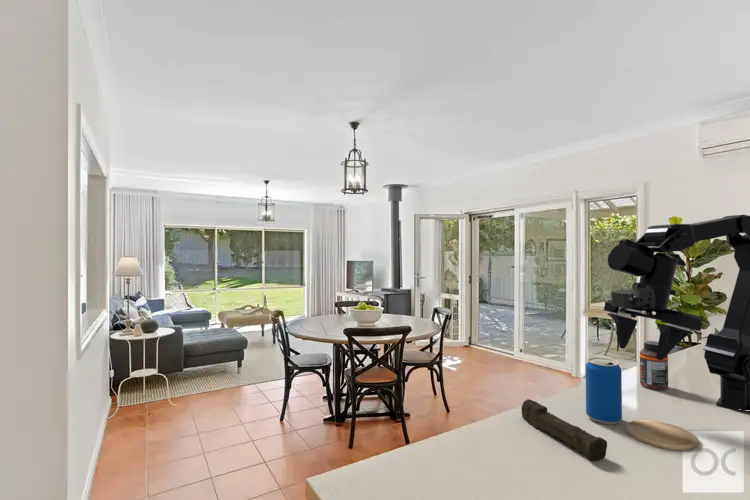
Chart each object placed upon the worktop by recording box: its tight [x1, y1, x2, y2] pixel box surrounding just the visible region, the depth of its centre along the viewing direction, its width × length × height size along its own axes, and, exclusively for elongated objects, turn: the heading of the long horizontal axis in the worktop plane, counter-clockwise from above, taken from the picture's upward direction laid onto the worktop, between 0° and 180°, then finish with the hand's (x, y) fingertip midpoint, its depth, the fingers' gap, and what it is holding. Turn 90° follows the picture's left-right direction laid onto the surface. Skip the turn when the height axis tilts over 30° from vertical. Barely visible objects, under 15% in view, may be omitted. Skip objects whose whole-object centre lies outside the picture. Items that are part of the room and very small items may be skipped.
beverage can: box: [585, 357, 623, 425], centre depth 83 cm, size 6×6×12 cm
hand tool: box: [521, 398, 608, 463], centre depth 76 cm, size 19×4×5 cm, turn 17°
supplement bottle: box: [639, 340, 669, 391], centre depth 102 cm, size 6×6×11 cm
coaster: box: [626, 419, 700, 452], centre depth 75 cm, size 11×11×1 cm
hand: (639, 353), depth 84 cm, fingers open, 9 cm apart
